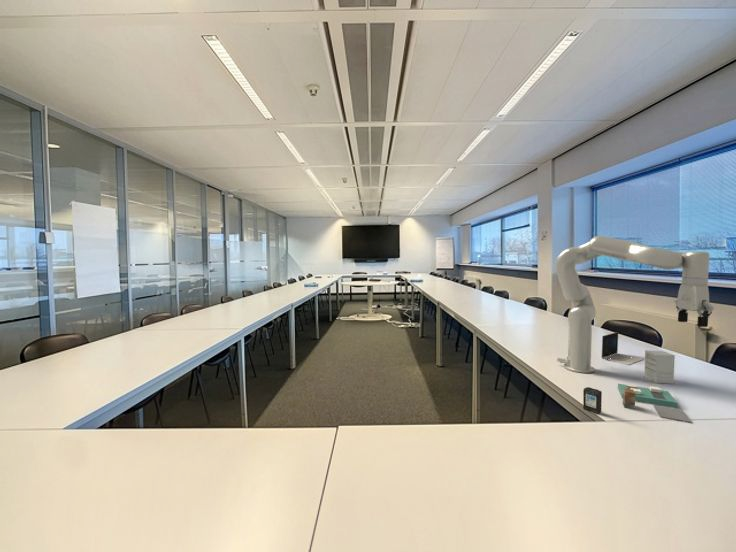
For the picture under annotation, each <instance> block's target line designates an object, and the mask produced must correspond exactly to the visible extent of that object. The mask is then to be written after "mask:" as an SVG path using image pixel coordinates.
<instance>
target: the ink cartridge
mask: <svg viewBox="0 0 736 552" xmlns="http://www.w3.org/2000/svg"><path fill="white" fill-rule="evenodd" d="M582 393H583V396H582V397H583V398H582V399H583V400H582V402H583V403H582V404H583V410H585V411H587V412H590V413H593V414H597V415H598V414H600V413H602V402H603V401H602V390H599V389H597V388H593V387H590V386H587V387H584V388H583V392H582Z"/></svg>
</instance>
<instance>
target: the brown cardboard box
mask: <svg viewBox="0 0 736 552" xmlns="http://www.w3.org/2000/svg"><path fill="white" fill-rule="evenodd" d="M622 405H623V407H624V409H630V410H635V409H636V401H635V392H634V390H633V389H626V388H623V399H622Z"/></svg>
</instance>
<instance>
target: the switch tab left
mask: <svg viewBox="0 0 736 552" xmlns="http://www.w3.org/2000/svg"><path fill="white" fill-rule="evenodd" d="M630 389H633V388H630ZM633 390H634V392H635V394H640V395H641V390H640V389H633Z"/></svg>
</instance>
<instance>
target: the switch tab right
mask: <svg viewBox="0 0 736 552" xmlns="http://www.w3.org/2000/svg"><path fill="white" fill-rule="evenodd" d="M649 388H650V391H652V392H658V393H661V390H662V389H661V388H660V387H657V386H651V385H650V386H649Z"/></svg>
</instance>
